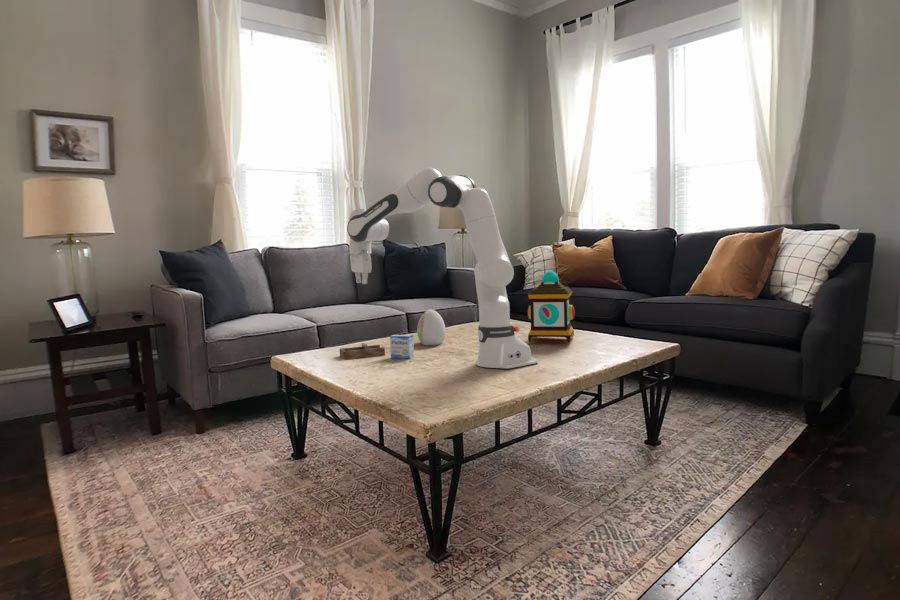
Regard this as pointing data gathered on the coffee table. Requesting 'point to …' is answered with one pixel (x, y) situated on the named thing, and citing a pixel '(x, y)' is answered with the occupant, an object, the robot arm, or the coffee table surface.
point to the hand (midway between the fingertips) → (361, 283)
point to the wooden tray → (362, 352)
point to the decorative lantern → (550, 309)
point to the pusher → (364, 346)
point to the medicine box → (402, 346)
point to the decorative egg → (431, 328)
